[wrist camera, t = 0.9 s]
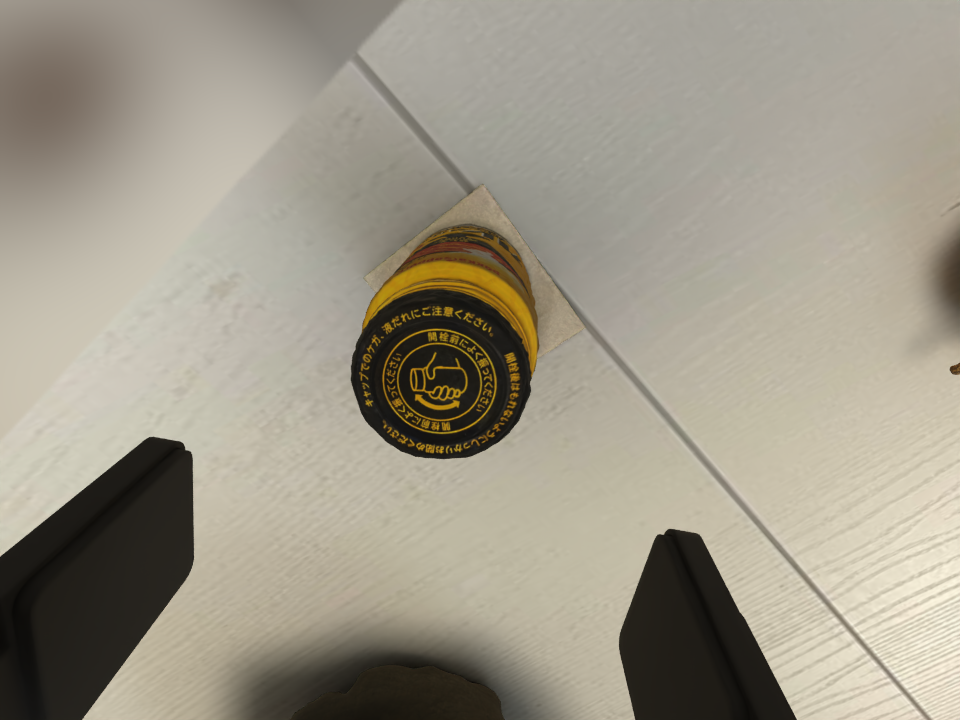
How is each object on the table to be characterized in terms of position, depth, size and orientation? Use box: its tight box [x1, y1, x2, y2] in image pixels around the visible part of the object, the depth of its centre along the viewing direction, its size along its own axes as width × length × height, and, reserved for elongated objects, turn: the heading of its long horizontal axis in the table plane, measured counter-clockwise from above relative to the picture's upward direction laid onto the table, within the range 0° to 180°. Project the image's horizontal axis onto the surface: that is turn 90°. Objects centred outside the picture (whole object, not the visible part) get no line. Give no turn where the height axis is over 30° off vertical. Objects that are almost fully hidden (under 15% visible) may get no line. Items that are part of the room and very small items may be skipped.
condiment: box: [351, 184, 586, 459], centre depth 21 cm, size 7×8×12 cm
